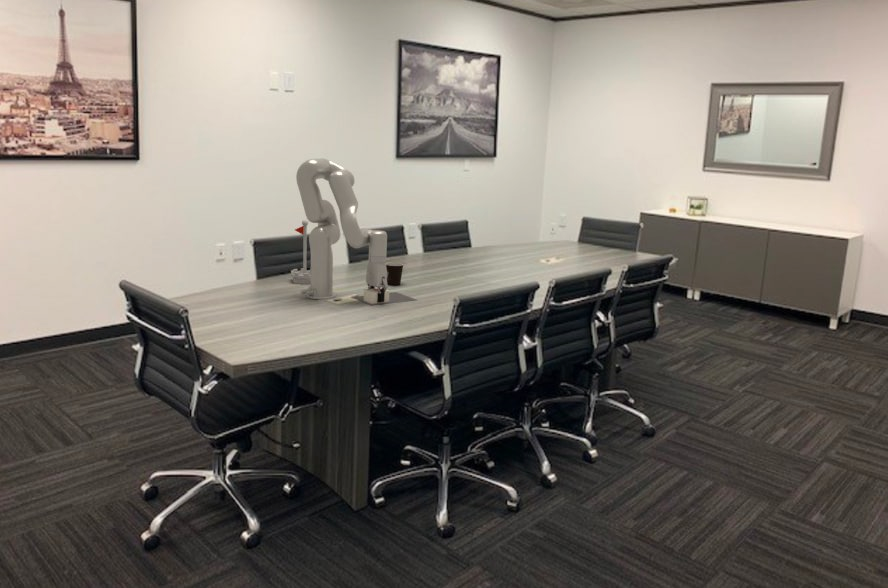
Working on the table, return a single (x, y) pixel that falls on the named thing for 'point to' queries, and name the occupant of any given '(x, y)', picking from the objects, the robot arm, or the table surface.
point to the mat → (393, 297)
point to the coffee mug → (394, 273)
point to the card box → (374, 296)
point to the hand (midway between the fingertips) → (376, 299)
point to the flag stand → (303, 275)
